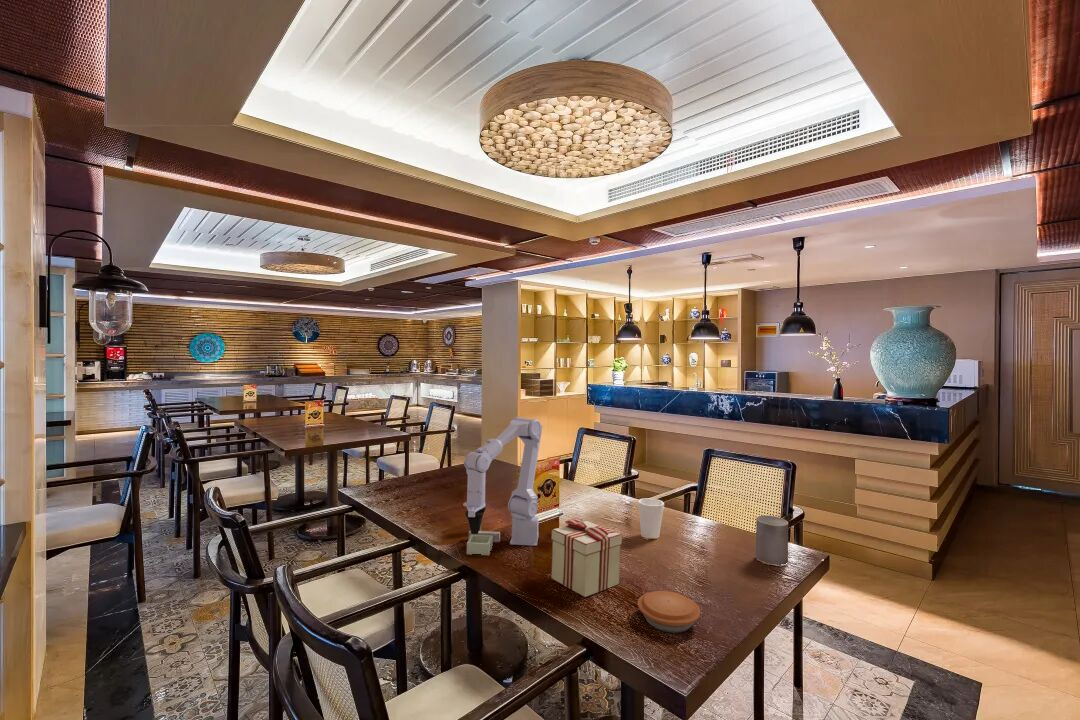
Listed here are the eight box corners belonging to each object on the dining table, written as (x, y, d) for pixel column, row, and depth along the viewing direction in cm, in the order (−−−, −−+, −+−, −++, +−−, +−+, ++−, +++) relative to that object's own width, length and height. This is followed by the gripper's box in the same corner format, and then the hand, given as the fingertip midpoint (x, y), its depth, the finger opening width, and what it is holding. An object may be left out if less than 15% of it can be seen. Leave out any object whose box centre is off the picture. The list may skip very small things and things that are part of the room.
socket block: (492, 547, 167) (492, 535, 166) (488, 556, 159) (489, 544, 159) (471, 546, 167) (471, 534, 167) (466, 555, 159) (466, 543, 159)
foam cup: (661, 543, 173) (662, 507, 173) (635, 539, 176) (636, 504, 176) (663, 534, 182) (664, 500, 182) (639, 530, 185) (640, 497, 185)
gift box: (628, 580, 144) (629, 522, 144) (588, 601, 131) (590, 538, 131) (584, 561, 156) (586, 508, 156) (544, 579, 143) (546, 521, 143)
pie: (698, 644, 112) (698, 623, 112) (632, 629, 118) (632, 608, 118) (701, 612, 127) (702, 593, 127) (642, 600, 132) (643, 581, 132)
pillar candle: (770, 553, 166) (771, 510, 166) (794, 564, 157) (795, 519, 157) (748, 557, 162) (749, 513, 162) (772, 569, 153) (772, 522, 153)
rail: (499, 540, 172) (500, 531, 172) (499, 542, 170) (499, 533, 170) (469, 538, 173) (469, 530, 173) (468, 540, 171) (468, 532, 171)
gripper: (468, 483, 161) (467, 523, 161) (458, 496, 147) (457, 540, 147) (489, 484, 161) (488, 524, 161) (481, 496, 146) (480, 541, 147)
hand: (475, 532), depth 154 cm, fingers closed
